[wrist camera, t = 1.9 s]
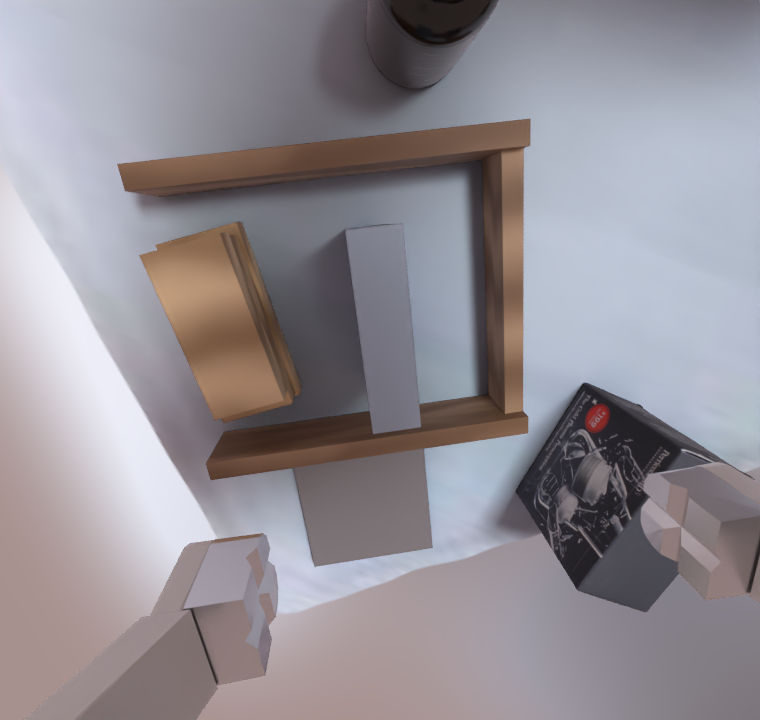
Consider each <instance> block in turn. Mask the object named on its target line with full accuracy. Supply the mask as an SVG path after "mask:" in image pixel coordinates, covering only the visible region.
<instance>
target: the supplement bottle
mask: <svg viewBox="0 0 760 720" xmlns="http://www.w3.org/2000/svg"><path fill="white" fill-rule="evenodd" d="M498 1H499V0H368V1H367V10H366V39H367V44H368V48H369V51H370V54H371V56H372V58H373V61H374V62H375V64H376V66H377V67H378V68H379V70H380V71H381V72H382V73H383V74H384V75H385V76H386V77H387V78H388V79H389V80H391V81H392V82H394V83H396V84H398V85H400V86H403V87H407V88H423V87H427V86H430V85H432V84H434V83H436V82H438V81H439V80H441V79H442V78H443V77H444V76H445V75H446V74H448V72H449V71H450V70H451V69H452V68H453V66H454V65H455V64H456V63H457V61H458V60H459V58H460V57H461V56H462V54H463V53H464V52H465V50H466V49H467V47H468V46H469V45H470V43H471V42H472V41H473V39H474V38H475V36H476V35H477V34H478V32H479V31H480V30H481V28H482V27H483V25H484V24H485V23H486V21H487V20H488V18H489V17H490V15H491V14H492V12H493V10H494V9H495V7H496V5H497V3H498Z"/></svg>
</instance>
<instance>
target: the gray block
mask: <svg viewBox="0 0 760 720" xmlns="http://www.w3.org/2000/svg"><path fill="white" fill-rule="evenodd" d="M345 236H346V243H347V250H348V258H349V265H350V273H351V280H352V287H353V295H354V302H355V310H356V317H357V324H358V332H359V339H360V346H361V354H362V361H363V369H364V376H365V382H366V389H367V396H368V403H369V410H370V416H371V423H372V430H373V434H377V433H384V432H391V431H398V430H404V429H411V428H418V427H421V420H420V409H419V398H418V387H417V376H416V365H415V354H414V343H413V331H412V320H411V309H410V298H409V287H408V276H407V265H406V254H405V243H404V232H403V224H382V225H374V226H365V227H357V228H349V229H345Z"/></svg>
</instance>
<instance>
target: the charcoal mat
mask: <svg viewBox="0 0 760 720" xmlns="http://www.w3.org/2000/svg"><path fill="white" fill-rule="evenodd" d="M294 472H295V477H296V482H297V486H298V491H299V496H300V500H301V505H302V510H303V514H304V519H305V524H306V528H307V533H308V538H309V542H310V547H311V552H312V556H313V561H314V566H315V567H316V566H322V565H328V564H334V563H341V562H347V561H353V560H360V559H366V558H372V557H378V556H385V555H391V554H397V553H403V552H410V551H416V550H422V549H428V548H433V547H432V536H431V525H430V513H429V502H428V491H427V480H426V469H425V458H424V449H417V450H411V451H404V452H397V453H390V454H384V455H377V456H370V457H363V458H356V459H350V460H343V461H336V462H329V463H323V464H316V465H309V466H302V467H296V468H294Z"/></svg>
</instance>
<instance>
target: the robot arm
mask: <svg viewBox="0 0 760 720" xmlns="http://www.w3.org/2000/svg"><path fill="white" fill-rule="evenodd" d="M643 491H644V492H645V493H646V495H647V496H648V497H649V499H648V500H647V501H646V503H645V504H644V505H643V506H642V508H641V520H640V521H641V524H642V527H643V531H644V534H645V536H646V537H647V539H648V540H649V542H650V543H651V545H652V546H653V547H654V548H655V549H656V550H657V551H658V552H659V553H660V554H661V555H663V556H665V557H668V558H670V559H672V560H674V561H676V565H677V572H678V573H679V574H680V575H681V576H682V577H683V578H684V579H685V580H686V581H687V582H688V583H689V584H690V585H691V586H692V587H693V588H694V589H695V590H696V591H697V592H698V593H699V594H700V595H701V596H702V597H703V598H704V599H705V600H712V599H719V598H726V597H733V596H740V595H748V594H750V597H751V598H753V599H755V600H756V601H758V602H760V484H759V483H757V482H756V481H754V480H753V479H751V478H749V477H748V476H746V475H744V474H743V473H741V472H739V471H738V470H736V469H735V468H733V467H731V466H730V465H728V464H724V463H720V462H715V463H709V464H704V465H698V466H694V467H690V468H683V469H677V470H671V471H665V472H659V473H652V474H649V475H648V476H647V478H646V479H645V482H644V489H643ZM269 551H270V547H269V543H268V540H267V536H266V535H264V534H263V533H262V534H254V535H246V536H239V537H231V538H223V539H216V540H214V541H213V540H211V541H204V542H196V543H190V544H189V545H187V546H186V547H185V548H184V549H183V551H182V553H181V555H180V557H179V559H178V561H177V563H176V565H175V567H174V569H173V571H172V573H171V575H170V577H169V579H168V581H167V583H166V585H165V587H164V589H163V591H162V593H161V595H160V597H159V599H158V601H157V603H156V605H155V607H154V609H153V611H152V613H151V615H150V616H146V617H141V618H140V619H139V620H138V621H137V622H136V623H134V624H133V625H132V626H131V627H130V628H129V629H128V630H126V631H125V632H124V633H123V634H122V635H121V636H120V637H118V638H117V639H116V640H115V641H114V642H113V643H111V644H110V645H109V646H108V647H107V648H106V649H104V650H103V651H102V652H101V653H100V654H99V655H98V656H96V657H95V658H94V659H93V660H92V661H91V662H90V663H88V664H87V665H86V666H85V667H84V668H83V669H81V670H80V671H79V672H78V673H77V674H76V675H74V676H73V677H72V678H71V679H70V680H69V681H68V682H66V683H65V684H64V685H63V686H62V687H61V688H60V689H58V690H57V691H56V692H55V693H54V694H53V695H51V696H50V697H49V698H48V699H47V700H46V701H45V702H43V703H42V704H41V705H40V706H39V707H38V708H36V709H35V710H34V711H33V712H32V713H31V714H30V715H28V716H27V717H26V718H25V719H24V720H196V719H197V718H198V716H199V715H200V713H201V712H202V710H203V709H204V708H205V706H206V704H207V703H208V702H209V700H210V699H211V697H212V696H213V695H214V693H215V692H216V690H217V689H218V688H217V685H221V684H226V683H231V682H236V681H241V680H246V679H251V678H256V677H261V676H265V673H266V668H267V663H268V657H269V652H270V646H271V640H272V639H271V635H270V631H269V627H268V626H269V624H270V623H271V622H272V621H273V620H274V618H275V617H276V611H277V604H278V583H277V575H276V571H275V566H274V565H273V564H271V563H270V562H269V561H268V556H269Z"/></svg>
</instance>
